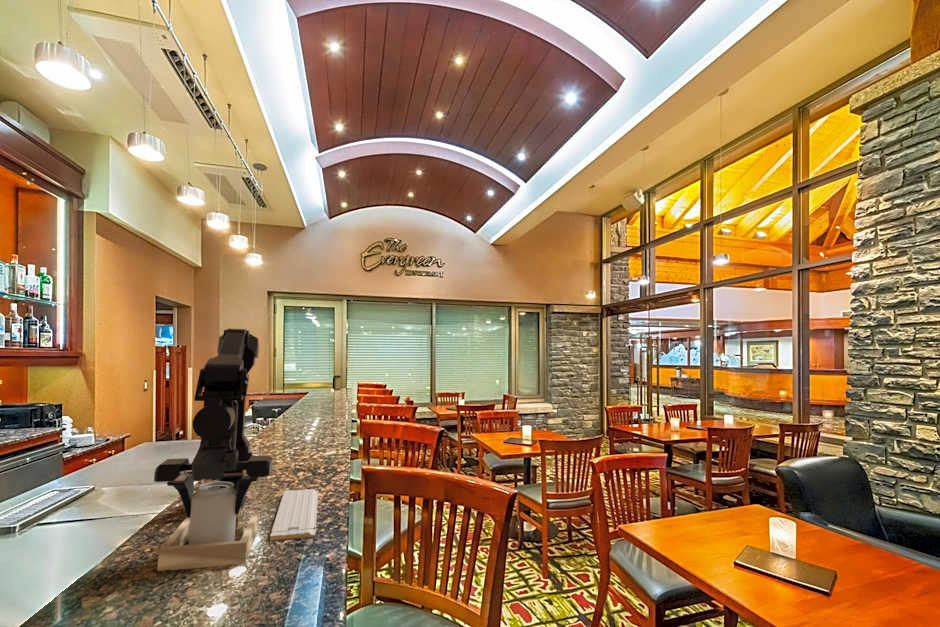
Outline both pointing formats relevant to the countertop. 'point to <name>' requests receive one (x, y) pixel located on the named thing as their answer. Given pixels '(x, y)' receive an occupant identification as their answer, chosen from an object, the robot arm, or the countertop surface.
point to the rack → (205, 549)
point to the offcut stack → (238, 528)
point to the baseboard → (296, 515)
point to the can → (213, 513)
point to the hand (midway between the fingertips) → (213, 515)
